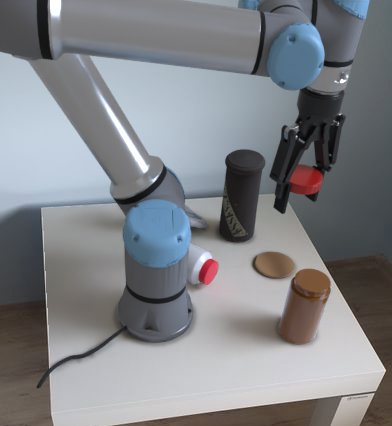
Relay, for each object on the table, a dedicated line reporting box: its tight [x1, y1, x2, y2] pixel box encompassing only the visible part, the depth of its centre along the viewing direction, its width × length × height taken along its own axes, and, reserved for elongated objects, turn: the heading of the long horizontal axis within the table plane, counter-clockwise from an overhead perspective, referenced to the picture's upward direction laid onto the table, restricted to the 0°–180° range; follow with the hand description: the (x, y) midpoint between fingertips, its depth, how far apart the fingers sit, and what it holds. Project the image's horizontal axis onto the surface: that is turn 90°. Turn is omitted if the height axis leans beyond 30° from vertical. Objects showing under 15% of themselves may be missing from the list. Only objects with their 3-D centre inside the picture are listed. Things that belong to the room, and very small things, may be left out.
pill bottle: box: [186, 242, 220, 286], centre depth 113 cm, size 8×8×11 cm
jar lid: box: [284, 163, 324, 196], centre depth 101 cm, size 8×8×2 cm
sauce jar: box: [278, 268, 332, 345], centre depth 102 cm, size 8×8×14 cm
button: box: [185, 204, 209, 230], centre depth 126 cm, size 10×2×10 cm
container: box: [218, 148, 267, 243], centre depth 120 cm, size 9×9×20 cm
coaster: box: [254, 251, 296, 280], centre depth 120 cm, size 9×9×1 cm
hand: (295, 204), depth 105 cm, fingers closed on jar lid, 8 cm apart
